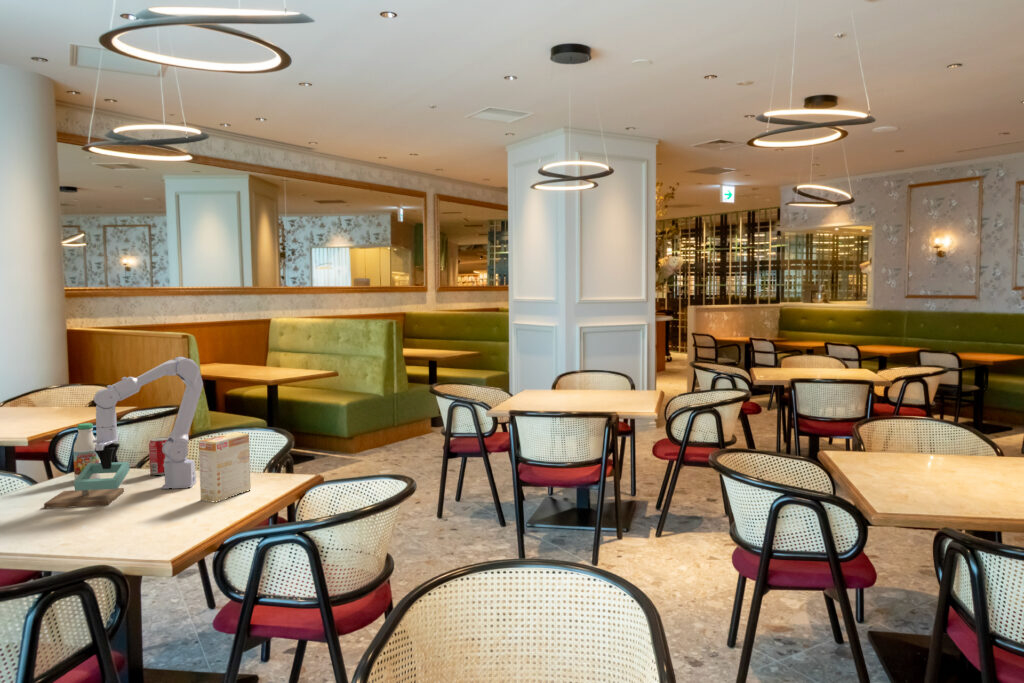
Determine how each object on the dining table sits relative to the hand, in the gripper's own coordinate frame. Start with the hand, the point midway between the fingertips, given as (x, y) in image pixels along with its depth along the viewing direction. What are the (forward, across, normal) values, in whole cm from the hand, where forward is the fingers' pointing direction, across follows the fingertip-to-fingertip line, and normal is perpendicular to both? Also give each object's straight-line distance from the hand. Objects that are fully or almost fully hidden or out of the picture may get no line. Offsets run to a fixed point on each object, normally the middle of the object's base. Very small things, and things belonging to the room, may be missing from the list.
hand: (108, 467), depth 227 cm
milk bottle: (+10, -23, -15) cm, 29 cm away
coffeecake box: (+10, +6, +37) cm, 39 cm away
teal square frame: (+3, +4, 0) cm, 5 cm away
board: (+10, +3, -6) cm, 12 cm away
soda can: (+10, -27, +8) cm, 30 cm away
